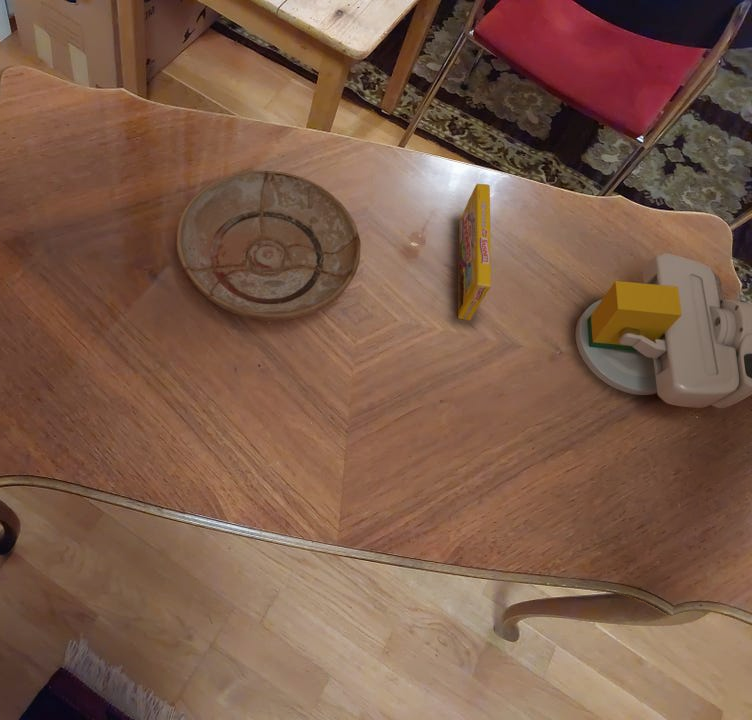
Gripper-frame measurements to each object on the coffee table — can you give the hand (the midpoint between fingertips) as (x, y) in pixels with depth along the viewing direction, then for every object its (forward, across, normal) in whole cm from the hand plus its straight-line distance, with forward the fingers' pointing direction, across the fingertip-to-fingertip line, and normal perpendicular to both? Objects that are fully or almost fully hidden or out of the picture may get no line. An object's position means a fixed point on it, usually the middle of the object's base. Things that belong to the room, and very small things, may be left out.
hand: (619, 316), depth 81 cm
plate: (-4, 0, +6) cm, 8 cm away
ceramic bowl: (+44, -3, +6) cm, 45 cm away
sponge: (-2, 0, +4) cm, 5 cm away
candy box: (+18, -8, +6) cm, 20 cm away
